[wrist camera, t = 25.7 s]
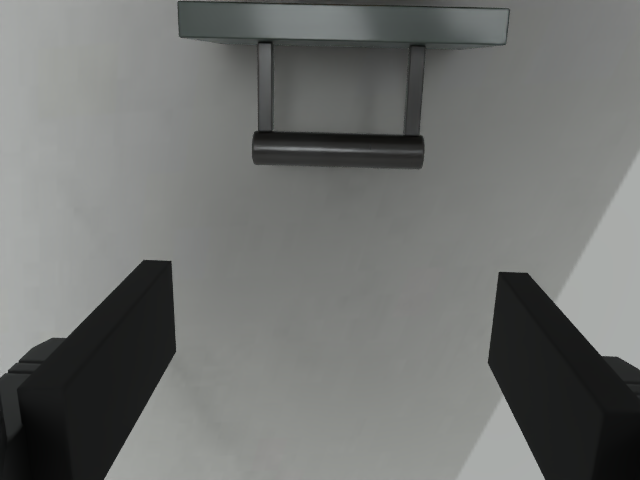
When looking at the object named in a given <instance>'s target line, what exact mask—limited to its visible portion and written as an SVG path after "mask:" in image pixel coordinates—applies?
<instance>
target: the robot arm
mask: <svg viewBox="0 0 640 480" xmlns="http://www.w3.org/2000/svg"><path fill="white" fill-rule="evenodd" d="M175 352H176V340H175V321H174V302H173V283H172V264H171V261H157V260H143V261H142V262H141V263H140V264H139V265H138V266H137V267H136V268H135V269H134V270H133V271H132V272H131V273H130V274H129V275H128V276H127V277H126V278H125V279H124V281H123V282H122V283H121V284H120V285H119V286H118V287H117V288H116V289H115V290H114V291H113V292H112V293H111V294H110V295H109V296H108V297H107V298H106V299H105V300H104V301H103V302H102V303H101V304H100V305H99V306H98V307H97V308H96V309H95V310H94V311H93V312H92V313H91V314H90V315H89V316H88V317H87V318H86V319H85V320H84V321H83V322H82V323H81V324H80V325H79V326H78V327H77V328H76V329H75V330H74V331H73V332H72V333H71V334H70V335H69V336H68V337H67V338H51V339H49V340H47V341H45V342H43V343H41V344H39V345H37V346H35V347H33V348H32V349H31V350H30V351H28V352H27V353H26V354H25V355H24V356H23V357H22V358H21V359H20V360H19V363H16V364H15V365H13V366H12V367H11V368H10V369H9V370H8V373H5V374H4V375H3V376H2V377H1V378H0V480H104V478H105V477H106V475H107V473H108V471H109V469H110V468H111V466H112V464H113V462H114V461H115V459H116V457H117V455H118V454H119V452H120V450H121V448H122V446H123V445H124V443H125V441H126V439H127V438H128V436H129V434H130V432H131V430H132V429H133V427H134V425H135V423H136V422H137V420H138V418H139V416H140V415H141V413H142V411H143V409H144V407H145V406H146V404H147V402H148V400H149V399H150V397H151V395H152V393H153V391H154V390H155V388H156V386H157V384H158V383H159V381H160V379H161V377H162V376H163V374H164V372H165V370H166V368H167V367H168V365H169V363H170V361H171V360H172V358H173V356H174V354H175ZM488 364H489V366H490V368H491V370H492V372H493V374H494V376H495V378H496V380H497V382H498V384H499V386H500V388H501V391H502V393H503V395H504V397H505V399H506V401H507V403H508V405H509V407H510V409H511V411H512V413H513V415H514V417H515V419H516V421H517V423H518V425H519V427H520V429H521V431H522V433H523V435H524V437H525V439H526V441H527V443H528V445H529V447H530V449H531V451H532V453H533V456H534V457H535V460H536V462H537V464H538V466H539V468H540V470H541V472H542V474H543V476H544V478H545V480H640V370H639V369H638V368H636V367H634V366H632V365H631V364H629V363H627V362H625V361H624V360H622V359H620V358H618V357H609V356H601V355H600V354H599V353H598V352H597V351H596V350H595V348H594V347H593V346H592V345H591V344H590V343H589V342H588V341H587V340H586V338H585V337H584V336H583V335H582V334H581V333H580V332H579V331H578V329H577V328H576V327H575V326H574V325H573V324H572V323H571V322H570V320H569V319H568V318H567V317H566V316H565V315H564V314H563V312H562V311H561V310H560V309H559V308H558V307H557V306H556V305H555V303H554V302H553V301H552V300H551V299H550V298H549V297H548V296H547V294H546V293H545V292H544V291H543V290H542V289H541V288H540V287H539V285H538V284H537V283H536V282H535V281H534V280H533V279H532V278H531V276H530V275H529V274H528V273H516V272H499V275H498V284H497V292H496V300H495V308H494V317H493V325H492V333H491V342H490V350H489V358H488Z"/></svg>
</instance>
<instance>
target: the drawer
mask: <svg viewBox="0 0 640 480" xmlns="http://www.w3.org/2000/svg"><path fill="white" fill-rule="evenodd" d="M509 14H510V9H509V8H477V7H432V6H388V5H343V4H299V3H254V2H210V1H178V25H179V37H181V38H187V39H194V40H200V41H207V42H214V43H220V44H250V45H257V62H258V131H255V132H254V134H253V139H252V158H253V162H254V164H256V165H285V166H320V167H354V168H389V169H421V168H422V165H423V161H424V138H423V136H421V135H419V134H420V120H421V106H422V92H423V78H424V65H425V51H426V49H457V50H462V49H472V48H482V47H492V46H503V45H506V42H507V33H508V24H509ZM274 45H291V46H333V47H374V48H409V54H408V69H407V85H406V100H405V116H404V131H403V133H404V135H392V134H356V133H320V132H284V131H273V129H274Z"/></svg>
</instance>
